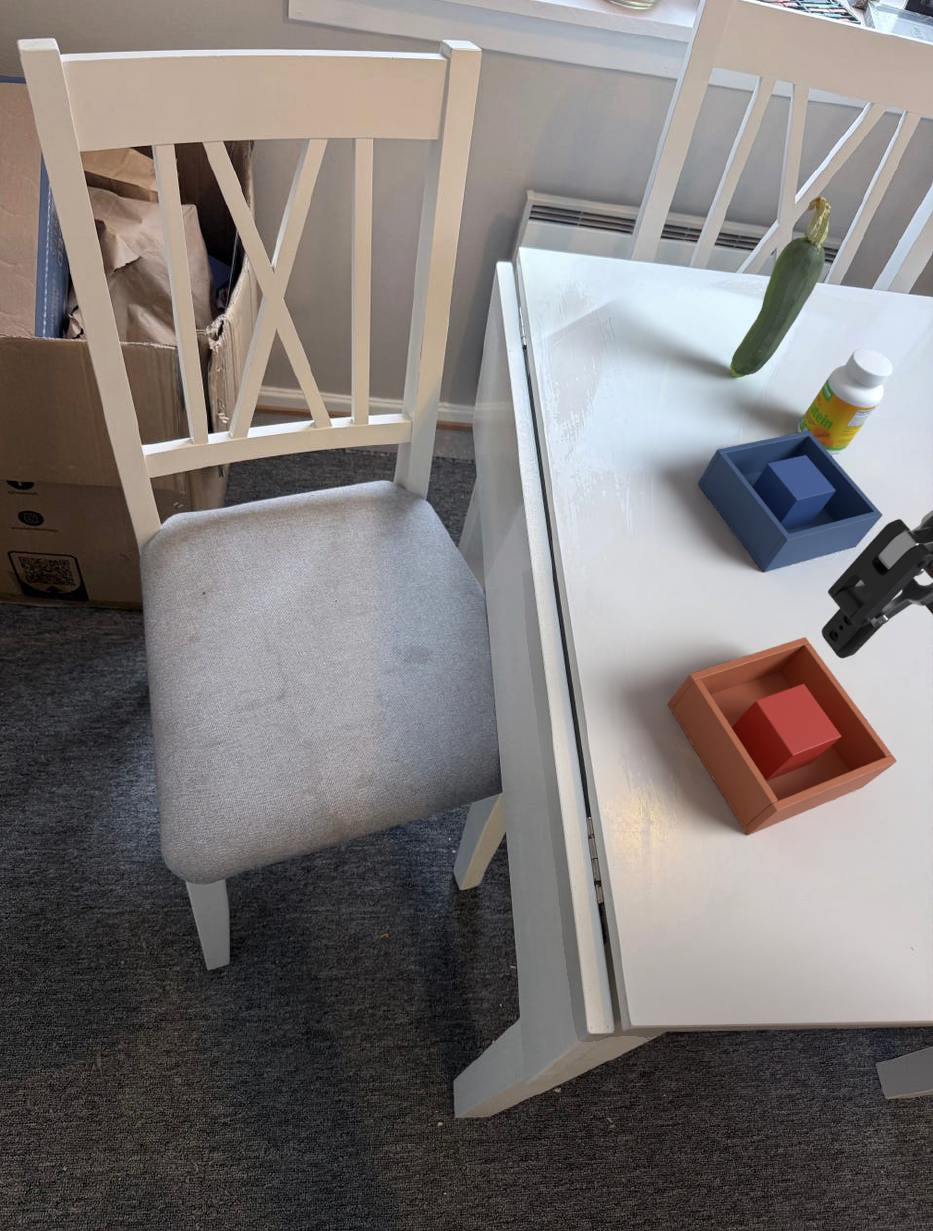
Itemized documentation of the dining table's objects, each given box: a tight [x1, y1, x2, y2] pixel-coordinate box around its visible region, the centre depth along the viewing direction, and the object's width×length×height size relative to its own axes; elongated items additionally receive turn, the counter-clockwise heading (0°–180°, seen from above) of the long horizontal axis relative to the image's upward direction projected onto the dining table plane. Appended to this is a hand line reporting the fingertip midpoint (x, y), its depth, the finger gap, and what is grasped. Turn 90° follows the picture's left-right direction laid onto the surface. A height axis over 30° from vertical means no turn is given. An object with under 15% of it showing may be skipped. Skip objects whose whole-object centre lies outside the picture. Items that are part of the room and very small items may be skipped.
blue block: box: [752, 455, 836, 530], centre depth 77 cm, size 5×5×5 cm
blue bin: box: [697, 431, 883, 573], centre depth 78 cm, size 11×11×4 cm
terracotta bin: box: [667, 636, 898, 836], centre depth 62 cm, size 11×11×4 cm
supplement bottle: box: [797, 348, 893, 455], centre depth 84 cm, size 5×5×10 cm
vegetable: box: [729, 196, 832, 379], centre depth 83 cm, size 4×4×20 cm
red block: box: [731, 684, 841, 781], centre depth 62 cm, size 5×5×5 cm
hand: (886, 627), depth 52 cm, fingers open, 8 cm apart
